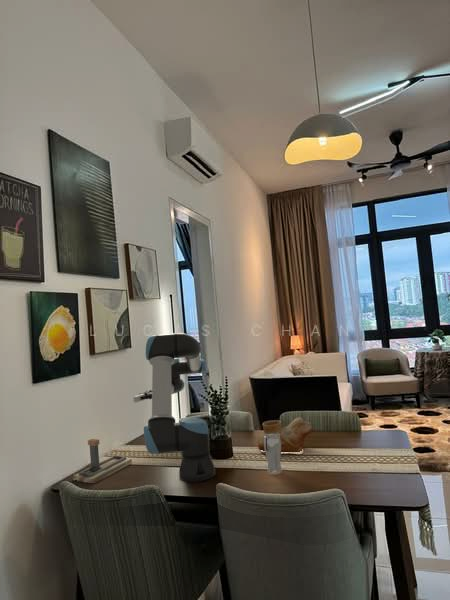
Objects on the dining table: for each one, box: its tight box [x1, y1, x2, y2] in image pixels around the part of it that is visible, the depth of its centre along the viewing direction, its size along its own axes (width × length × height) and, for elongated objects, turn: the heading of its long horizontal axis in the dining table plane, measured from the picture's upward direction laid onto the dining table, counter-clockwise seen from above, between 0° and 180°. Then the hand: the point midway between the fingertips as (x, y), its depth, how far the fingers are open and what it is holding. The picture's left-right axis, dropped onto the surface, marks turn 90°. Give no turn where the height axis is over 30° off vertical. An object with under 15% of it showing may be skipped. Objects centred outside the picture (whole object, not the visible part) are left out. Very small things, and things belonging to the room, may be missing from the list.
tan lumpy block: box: [257, 416, 313, 452], centre depth 199 cm, size 14×26×15 cm, turn 80°
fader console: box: [72, 454, 133, 484], centre depth 189 cm, size 12×24×3 cm, turn 152°
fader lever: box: [87, 438, 101, 472], centre depth 185 cm, size 5×2×13 cm, turn 62°
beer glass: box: [264, 433, 283, 473], centre depth 174 cm, size 7×7×15 cm
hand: (134, 399), depth 205 cm, fingers closed
